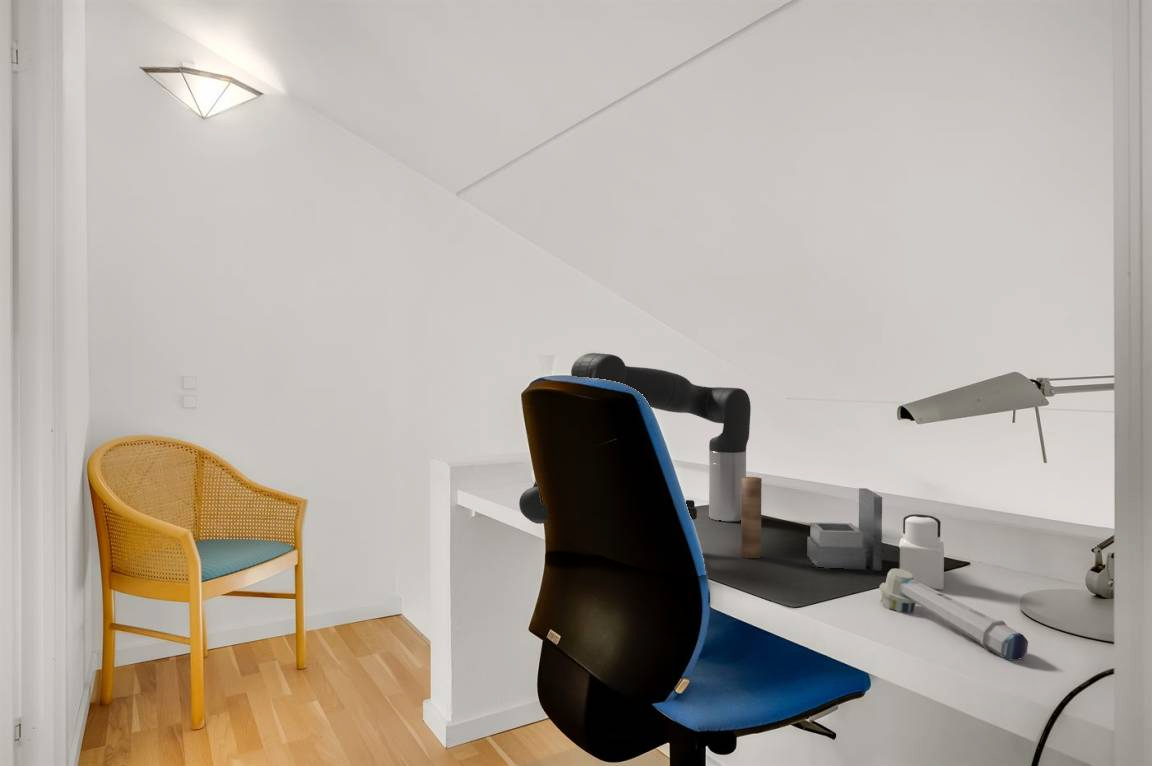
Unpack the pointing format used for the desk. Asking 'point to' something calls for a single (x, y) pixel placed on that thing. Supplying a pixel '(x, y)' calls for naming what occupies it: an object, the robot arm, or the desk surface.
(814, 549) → the cup bracket
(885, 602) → the toothbrush head
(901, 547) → the medicine bottle
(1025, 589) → the desk surface
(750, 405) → the robot arm
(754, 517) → the brown wooden cylinder
